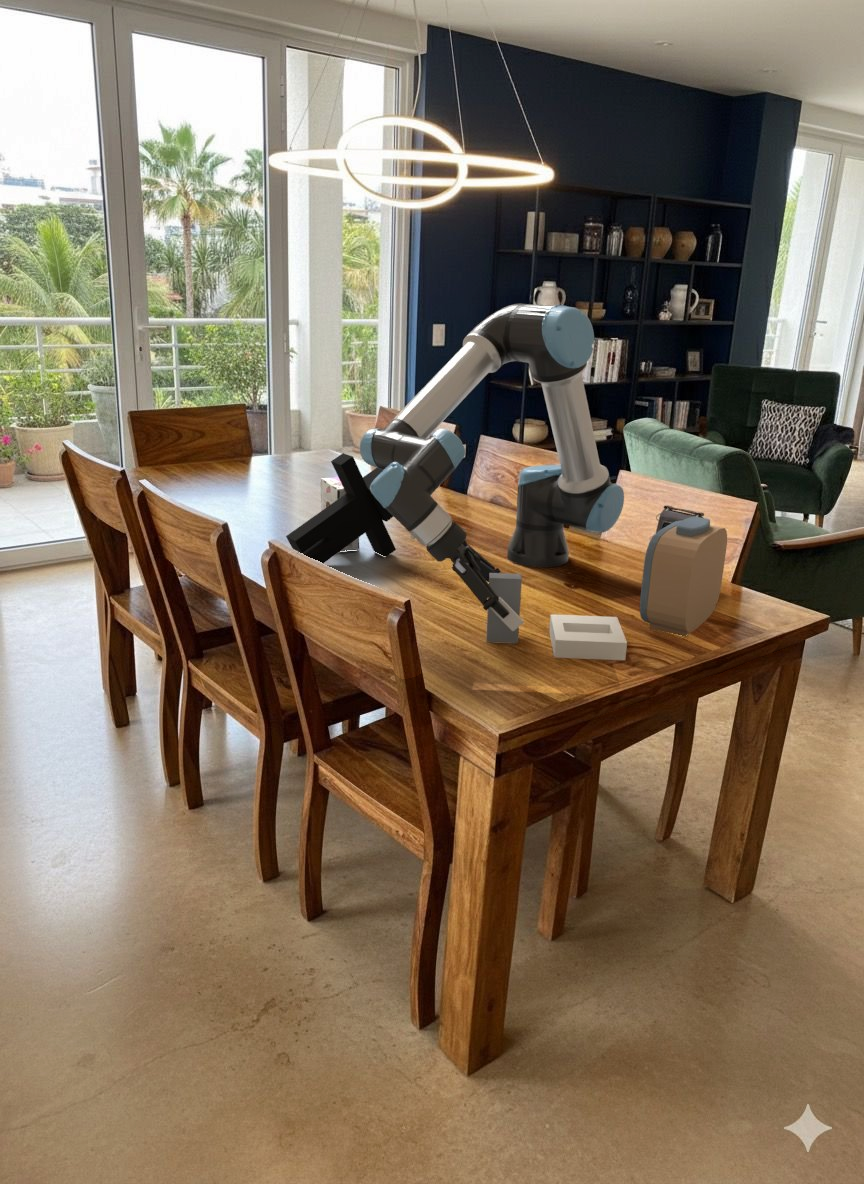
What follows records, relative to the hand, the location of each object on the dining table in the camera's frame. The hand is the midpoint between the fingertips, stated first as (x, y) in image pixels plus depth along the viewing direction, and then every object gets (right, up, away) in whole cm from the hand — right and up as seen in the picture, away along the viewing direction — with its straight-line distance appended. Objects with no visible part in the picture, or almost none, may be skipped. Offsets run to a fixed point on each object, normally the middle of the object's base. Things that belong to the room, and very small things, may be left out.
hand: (517, 614), depth 171 cm
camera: (+39, +4, +31) cm, 50 cm away
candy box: (-40, +16, +58) cm, 72 cm away
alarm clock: (+34, -3, +12) cm, 36 cm away
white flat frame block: (+13, -6, 0) cm, 14 cm away
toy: (-36, +11, +46) cm, 60 cm away
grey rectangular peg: (-3, -5, +2) cm, 6 cm away
